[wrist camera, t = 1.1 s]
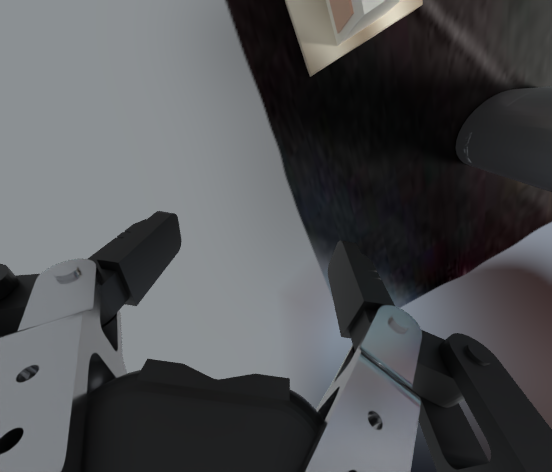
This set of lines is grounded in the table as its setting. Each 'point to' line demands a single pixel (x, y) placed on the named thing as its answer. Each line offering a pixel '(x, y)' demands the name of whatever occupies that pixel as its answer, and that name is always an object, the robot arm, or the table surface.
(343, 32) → the carton
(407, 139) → the table surface
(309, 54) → the cream grey flat block
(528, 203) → the table surface
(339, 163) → the table surface
